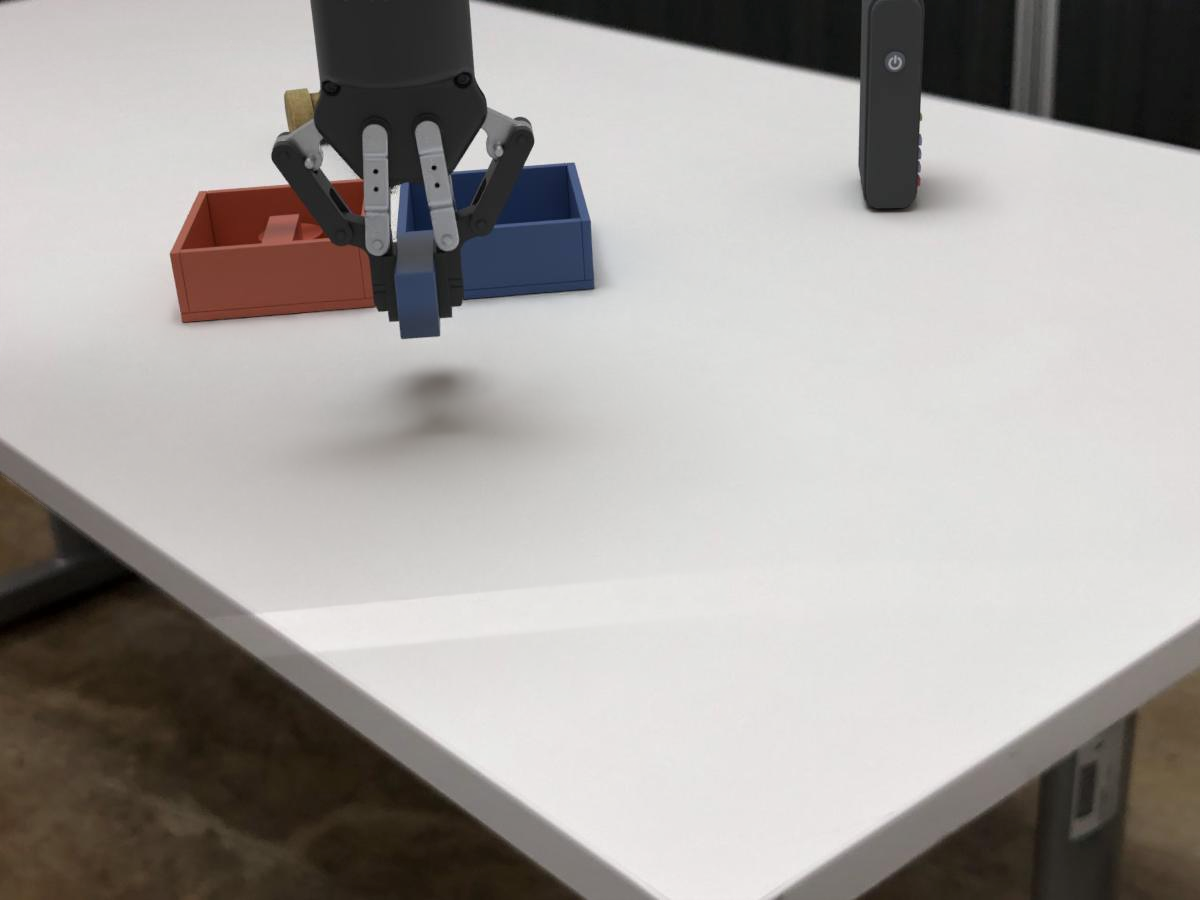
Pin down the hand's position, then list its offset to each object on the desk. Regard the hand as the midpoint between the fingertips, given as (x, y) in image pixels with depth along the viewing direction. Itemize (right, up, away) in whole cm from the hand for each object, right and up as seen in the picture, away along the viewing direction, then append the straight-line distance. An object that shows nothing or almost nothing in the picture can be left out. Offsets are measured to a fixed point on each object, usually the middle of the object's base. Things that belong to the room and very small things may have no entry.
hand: (420, 313), depth 82 cm
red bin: (-12, +4, +23) cm, 26 cm away
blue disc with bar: (0, +1, +2) cm, 2 cm away
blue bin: (+2, +6, +24) cm, 25 cm away
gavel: (-10, +17, +49) cm, 52 cm away
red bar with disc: (-11, +5, +23) cm, 26 cm away
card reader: (+30, +11, +33) cm, 46 cm away
